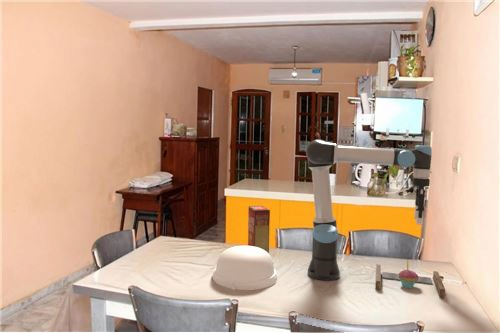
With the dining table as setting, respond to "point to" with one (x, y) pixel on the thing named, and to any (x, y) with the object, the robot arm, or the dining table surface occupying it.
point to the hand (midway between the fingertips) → (418, 221)
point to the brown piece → (423, 280)
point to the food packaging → (258, 227)
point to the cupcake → (408, 277)
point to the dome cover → (245, 268)
